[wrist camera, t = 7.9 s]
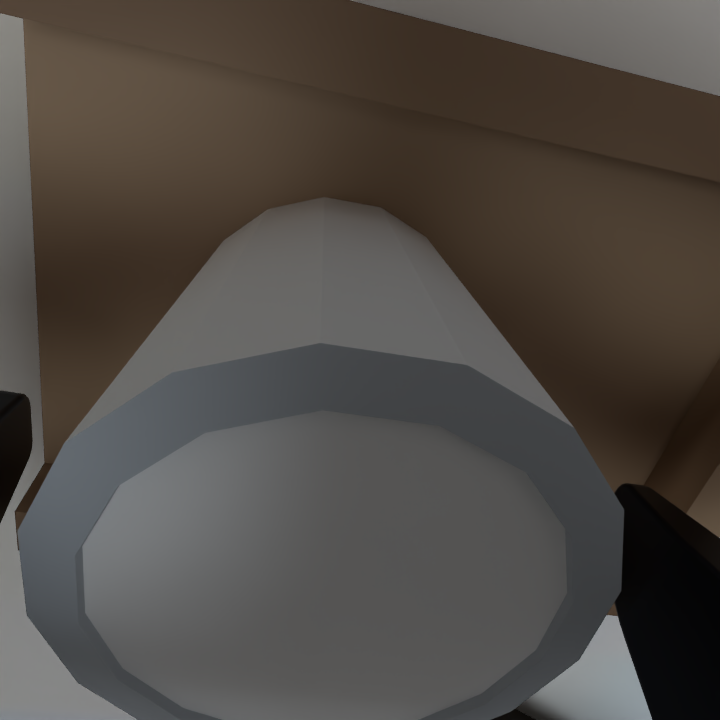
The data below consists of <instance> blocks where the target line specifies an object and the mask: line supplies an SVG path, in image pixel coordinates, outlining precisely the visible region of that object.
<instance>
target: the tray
mask: <svg viewBox="0 0 720 720" xmlns="http://www.w3.org/2000/svg"><path fill="white" fill-rule="evenodd" d="M0 13H2V14H7V15H11V16H15V17H19V18H23V24H24V45H25V66H26V86H27V107H28V128H29V149H30V169H31V190H32V211H33V232H34V252H35V273H36V294H37V315H38V335H39V356H40V377H41V398H42V418H43V439H44V460H45V463H44V465H43V466H42V468H41V470H40V471H39V473H38V475H37V476H36V478H35V479H34V481H33V483H32V484H31V486H30V488H29V489H28V491H27V493H26V494H25V496H24V497H23V499H22V501H21V502H20V504H19V506H18V507H17V509H16V510H15V520H16V532H17V531H18V529H19V527H20V525H21V523H22V521H23V519H24V518H25V516H26V514H27V512H28V510H29V508H30V506H31V504H32V503H33V501H34V499H35V497H36V495H37V493H38V491H39V489H40V488H41V486H42V484H43V482H44V480H45V478H46V476H47V474H48V473H49V471H50V469H51V467H52V465H53V463H54V461H55V459H56V458H57V456H58V454H59V452H60V450H61V448H62V446H63V444H64V443H65V441H66V440H67V439H68V438H69V436H70V435H71V434H72V433H73V431H74V430H75V429H76V427H77V426H78V425H79V424H80V422H81V421H82V420H83V419H84V417H85V416H86V415H87V413H88V412H89V411H90V410H91V408H92V407H93V406H94V405H95V403H96V402H97V401H98V400H99V398H100V397H101V396H102V394H103V393H104V392H105V391H106V389H107V388H108V387H109V386H110V384H111V383H112V382H113V380H114V379H115V378H116V377H117V375H118V374H119V373H120V372H121V370H122V369H123V368H124V366H125V365H126V364H127V363H128V361H129V360H130V359H131V358H132V356H133V355H134V354H135V352H136V351H137V350H138V349H139V347H140V346H141V345H142V344H143V342H144V341H145V340H146V339H147V337H148V336H149V335H150V333H151V332H152V331H153V330H154V328H155V327H156V326H157V325H158V323H159V322H160V321H161V319H162V318H163V317H164V316H165V314H166V313H167V312H168V311H169V309H170V308H171V307H172V305H173V304H174V303H175V302H176V300H177V299H178V298H179V297H180V295H181V294H182V293H183V291H184V290H185V289H186V288H187V286H188V285H189V284H190V283H191V281H192V280H193V279H194V278H195V276H196V275H197V274H198V272H199V271H200V270H201V269H202V267H203V266H204V265H205V264H206V262H207V261H208V260H209V258H210V257H211V256H212V255H213V253H214V252H215V251H216V250H217V248H218V247H219V246H220V244H221V243H222V242H223V241H224V240H225V239H226V238H228V237H229V236H231V235H232V234H234V233H235V232H236V231H238V230H239V229H241V228H242V227H243V226H245V225H246V224H248V223H249V222H250V221H252V220H253V219H255V218H256V217H258V216H259V215H260V214H262V213H263V212H265V211H266V210H267V209H270V208H275V207H280V206H284V205H289V204H294V203H299V202H303V201H308V200H313V199H317V198H322V197H327V198H333V199H338V200H343V201H349V202H354V203H360V204H365V205H371V206H376V207H381V208H382V209H384V210H386V211H387V212H389V213H390V214H392V215H393V216H395V217H396V218H398V219H399V220H401V221H402V222H404V223H405V224H407V225H408V226H410V227H411V228H413V229H414V230H416V231H417V232H419V233H421V234H422V235H424V236H425V237H426V238H427V239H428V240H429V241H430V243H431V244H432V245H433V247H434V248H435V249H436V250H437V252H438V253H439V254H440V256H441V257H442V258H443V259H444V261H445V262H446V263H447V265H448V266H449V267H450V268H451V270H452V271H453V272H454V274H455V275H456V276H457V277H458V279H459V280H460V281H461V283H462V284H463V285H464V287H465V288H466V289H467V290H468V292H469V293H470V294H471V296H472V297H473V298H474V299H475V301H476V302H477V303H478V305H479V306H480V307H481V308H482V310H483V311H484V312H485V314H486V315H487V316H488V317H489V319H490V320H491V321H492V323H493V324H494V325H495V326H496V328H497V329H498V330H499V332H500V333H501V334H502V335H503V337H504V338H505V339H506V341H507V342H508V343H509V344H510V346H511V347H512V348H513V350H514V351H515V352H516V353H517V355H518V356H519V357H520V359H521V360H522V361H523V362H524V364H525V365H526V366H527V368H528V369H529V370H530V371H531V373H532V374H533V375H534V377H535V378H536V379H537V380H538V382H539V383H540V384H541V386H542V387H543V388H544V389H545V391H546V392H547V393H548V395H549V396H550V397H551V398H552V400H553V401H554V402H555V404H556V405H557V406H558V407H559V409H560V410H561V411H562V413H563V414H564V415H565V416H566V418H567V419H568V420H569V422H570V423H571V424H572V425H573V427H574V428H575V430H576V431H577V433H578V435H579V436H580V438H581V440H582V441H583V443H584V445H585V446H586V448H587V449H588V451H589V453H590V454H591V456H592V458H593V459H594V461H595V463H596V464H597V466H598V468H599V469H600V471H601V473H602V474H603V476H604V477H605V479H606V481H607V482H608V484H609V486H610V487H611V489H612V491H613V492H614V493H615V491H616V490H617V488H618V487H619V486H620V485H622V484H624V483H631V484H637V485H644V486H648V487H650V488H652V489H653V490H654V491H656V492H657V493H659V494H660V495H661V496H663V497H664V498H665V499H667V500H668V501H670V502H671V503H672V504H674V505H675V506H676V507H678V508H679V509H681V510H682V511H683V512H685V513H686V514H687V515H689V516H690V517H692V518H693V519H694V520H696V521H697V522H698V523H700V524H701V525H703V526H704V527H705V528H707V529H708V530H709V531H711V532H712V533H714V534H715V535H716V536H718V537H720V96H717V95H713V94H709V93H705V92H701V91H697V90H694V89H690V88H686V87H682V86H678V85H674V84H670V83H666V82H663V81H659V80H655V79H651V78H647V77H643V76H639V75H636V74H632V73H628V72H624V71H620V70H616V69H612V68H609V67H605V66H601V65H597V64H593V63H589V62H585V61H582V60H578V59H574V58H570V57H566V56H562V55H558V54H555V53H551V52H547V51H543V50H539V49H535V48H531V47H527V46H524V45H520V44H516V43H512V42H508V41H504V40H500V39H497V38H493V37H489V36H485V35H481V34H477V33H473V32H470V31H466V30H462V29H458V28H454V27H450V26H446V25H443V24H439V23H435V22H431V21H427V20H423V19H419V18H416V17H412V16H408V15H404V14H400V13H396V12H392V11H388V10H385V9H381V8H377V7H373V6H369V5H365V4H361V3H358V2H354V1H350V0H0ZM17 544H18V550H19V542H18V534H17ZM607 615H613V616H618V615H617V611H616V607H615V603H614V604H613V605H612V607H611V608H610V610H609V612H608V613H607Z"/></svg>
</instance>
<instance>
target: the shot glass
mask: <svg viewBox="0 0 720 720" xmlns="http://www.w3.org/2000/svg"><path fill="white" fill-rule="evenodd" d="M623 529H624V509H623V507H622V505H621V504H620V502H619V500H618V499H617V497H616V496H615V494H614V492H613V491H612V489H611V487H610V486H609V484H608V482H607V481H606V479H605V477H604V476H603V474H602V473H601V471H600V469H599V468H598V466H597V464H596V463H595V461H594V459H593V458H592V456H591V454H590V453H589V451H588V449H587V448H586V446H585V445H584V443H583V441H582V440H581V438H580V436H579V435H578V433H577V431H576V430H575V428H574V427H573V425H572V424H571V423H570V422H569V420H568V419H567V418H566V416H565V415H564V414H563V413H562V411H561V410H560V409H559V407H558V406H557V405H556V404H555V402H554V401H553V400H552V398H551V397H550V396H549V395H548V393H547V392H546V391H545V389H544V388H543V387H542V386H541V384H540V383H539V382H538V380H537V379H536V378H535V377H534V375H533V374H532V373H531V371H530V370H529V369H528V368H527V366H526V365H525V364H524V362H523V361H522V360H521V359H520V357H519V356H518V355H517V353H516V352H515V351H514V350H513V348H512V347H511V346H510V344H509V343H508V342H507V341H506V339H505V338H504V337H503V335H502V334H501V333H500V332H499V330H498V329H497V328H496V326H495V325H494V324H493V323H492V321H491V320H490V319H489V317H488V316H487V315H486V314H485V312H484V311H483V310H482V308H481V307H480V306H479V305H478V303H477V302H476V301H475V299H474V298H473V297H472V296H471V294H470V293H469V292H468V290H467V289H466V288H465V287H464V285H463V284H462V283H461V281H460V280H459V279H458V277H457V276H456V275H455V274H454V272H453V271H452V270H451V268H450V267H449V266H448V265H447V263H446V262H445V261H444V259H443V258H442V257H441V256H440V254H439V253H438V252H437V250H436V249H435V248H434V247H433V245H432V244H431V243H430V241H429V240H428V239H427V238H426V237H425V236H424V235H422V234H421V233H419V232H417V231H416V230H414V229H413V228H411V227H410V226H408V225H407V224H405V223H404V222H402V221H401V220H399V219H398V218H396V217H395V216H393V215H392V214H390V213H389V212H387V211H386V210H384V209H382V208H381V207H376V206H371V205H365V204H360V203H354V202H349V201H343V200H338V199H333V198H327V197H322V198H317V199H313V200H308V201H303V202H299V203H294V204H289V205H284V206H280V207H275V208H270V209H267V210H266V211H265V212H263V213H262V214H260V215H259V216H258V217H256V218H255V219H253V220H252V221H250V222H249V223H248V224H246V225H245V226H243V227H242V228H241V229H239V230H238V231H236V232H235V233H234V234H232V235H231V236H229V237H228V238H226V239H225V240H224V241H223V242H222V243H221V244H220V246H219V247H218V248H217V250H216V251H215V252H214V253H213V255H212V256H211V257H210V258H209V260H208V261H207V262H206V264H205V265H204V266H203V267H202V269H201V270H200V271H199V272H198V274H197V275H196V276H195V278H194V279H193V280H192V281H191V283H190V284H189V285H188V286H187V288H186V289H185V290H184V291H183V293H182V294H181V295H180V297H179V298H178V299H177V300H176V302H175V303H174V304H173V305H172V307H171V308H170V309H169V311H168V312H167V313H166V314H165V316H164V317H163V318H162V319H161V321H160V322H159V323H158V325H157V326H156V327H155V328H154V330H153V331H152V332H151V333H150V335H149V336H148V337H147V339H146V340H145V341H144V342H143V344H142V345H141V346H140V347H139V349H138V350H137V351H136V352H135V354H134V355H133V356H132V358H131V359H130V360H129V361H128V363H127V364H126V365H125V366H124V368H123V369H122V370H121V372H120V373H119V374H118V375H117V377H116V378H115V379H114V380H113V382H112V383H111V384H110V386H109V387H108V388H107V389H106V391H105V392H104V393H103V394H102V396H101V397H100V398H99V400H98V401H97V402H96V403H95V405H94V406H93V407H92V408H91V410H90V411H89V412H88V413H87V415H86V416H85V417H84V419H83V420H82V421H81V422H80V424H79V425H78V426H77V427H76V429H75V430H74V431H73V433H72V434H71V435H70V436H69V438H68V439H67V440H66V441H65V443H64V444H63V446H62V448H61V450H60V452H59V454H58V456H57V458H56V459H55V461H54V463H53V465H52V467H51V469H50V471H49V473H48V474H47V476H46V478H45V480H44V482H43V484H42V486H41V488H40V489H39V491H38V493H37V495H36V497H35V499H34V501H33V503H32V504H31V506H30V508H29V510H28V512H27V514H26V516H25V518H24V519H23V521H22V523H21V525H20V527H19V529H18V531H17V534H18V542H19V551H20V560H21V568H22V577H23V586H24V594H25V603H26V611H27V616H28V617H29V619H30V620H31V621H32V623H33V624H34V625H35V627H36V628H37V629H38V631H39V632H40V633H41V635H42V636H43V637H44V639H45V640H46V641H47V643H48V644H49V645H50V647H51V648H52V649H53V650H54V652H55V653H56V654H57V656H58V657H59V658H60V660H61V661H62V662H63V664H64V665H65V666H66V668H67V669H68V670H69V672H70V673H71V674H72V676H73V677H74V678H75V680H76V681H77V682H78V683H79V684H81V685H82V686H84V687H86V688H87V689H89V690H91V691H92V692H94V693H95V694H97V695H99V696H100V697H102V698H104V699H105V700H107V701H109V702H110V703H112V704H113V705H115V706H117V707H118V708H120V709H122V710H123V711H125V712H127V713H128V714H130V715H132V716H133V717H135V718H136V719H138V720H491V719H494V718H496V717H499V716H501V715H504V714H506V713H509V712H511V711H512V710H514V709H515V708H516V707H518V706H519V705H520V704H522V703H523V702H524V701H526V700H527V699H528V698H529V697H531V696H532V695H533V694H535V693H536V692H537V691H539V690H540V689H541V688H543V687H544V686H545V685H547V684H548V683H549V682H551V681H552V680H553V679H554V678H556V677H557V676H558V675H560V674H561V673H562V672H564V671H565V670H566V669H568V668H569V667H570V666H572V665H573V664H574V663H575V662H577V661H578V660H579V659H580V657H581V656H582V654H583V652H584V651H585V649H586V648H587V646H588V644H589V643H590V641H591V639H592V638H593V636H594V635H595V633H596V631H597V630H598V628H599V626H600V625H601V623H602V621H603V620H604V618H605V617H606V615H607V613H608V612H609V610H610V608H611V607H612V605H613V604H614V602H615V600H616V599H617V597H618V595H619V594H620V592H621V583H622V556H623Z"/></svg>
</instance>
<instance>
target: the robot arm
mask: <svg viewBox="0 0 720 720" xmlns="http://www.w3.org/2000/svg"><path fill="white" fill-rule="evenodd" d="M31 449H32V424H31V407H30V401H29V398H28V397H27V396H26V395H25V394H21V393H14V392H7V391H0V523H1V521H2V518H3V516H4V514H5V512H6V509H7V507H8V505H9V502H10V500H11V498H12V496H13V493H14V491H15V489H16V487H17V484H18V482H19V480H20V477H21V475H22V473H23V471H24V468H25V466H26V464H27V462H28V459H29V457H30V454H31ZM614 494H615V496H616V497H617V499H618V500H619V502H620V504H621V505H622V507H623V509H624V529H623V556H622V583H621V592H620V594H619V595H618V597H617V599H616V600H615V602H614V603H615V607H616V611H617V615H618V618H619V622H620V625H621V628H622V632H623V635H624V638H625V641H626V644H627V647H628V650H629V653H630V655H631V658H632V661H633V664H634V667H635V670H636V673H637V676H638V679H639V682H640V685H641V687H642V690H643V693H644V696H645V699H646V702H647V705H648V708H649V711H650V714H651V717H652V720H720V538H719V537H718V536H716V535H715V534H714V533H712V532H711V531H709V530H708V529H707V528H705V527H704V526H703V525H701V524H700V523H698V522H697V521H696V520H694V519H693V518H692V517H690V516H689V515H687V514H686V513H685V512H683V511H682V510H681V509H679V508H678V507H676V506H675V505H674V504H672V503H671V502H670V501H668V500H667V499H665V498H664V497H663V496H661V495H660V494H659V493H657V492H656V491H654V490H653V489H652V488H650V487H648V486H644V485H637V484H631V483H624V484H622V485H620V486H619V487H618V488H617V490H616V491H615V493H614Z"/></svg>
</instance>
